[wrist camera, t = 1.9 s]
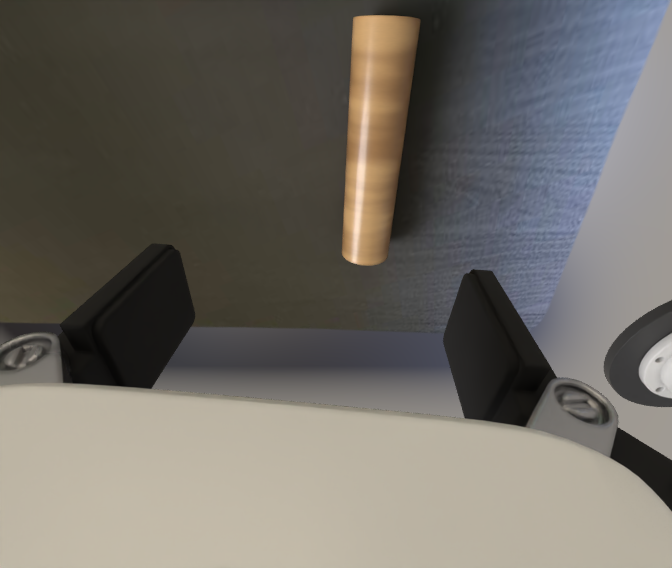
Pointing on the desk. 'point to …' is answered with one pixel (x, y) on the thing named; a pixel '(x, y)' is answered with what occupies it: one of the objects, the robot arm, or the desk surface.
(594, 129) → the desk surface
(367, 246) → the wooden cylinder
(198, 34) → the desk surface
